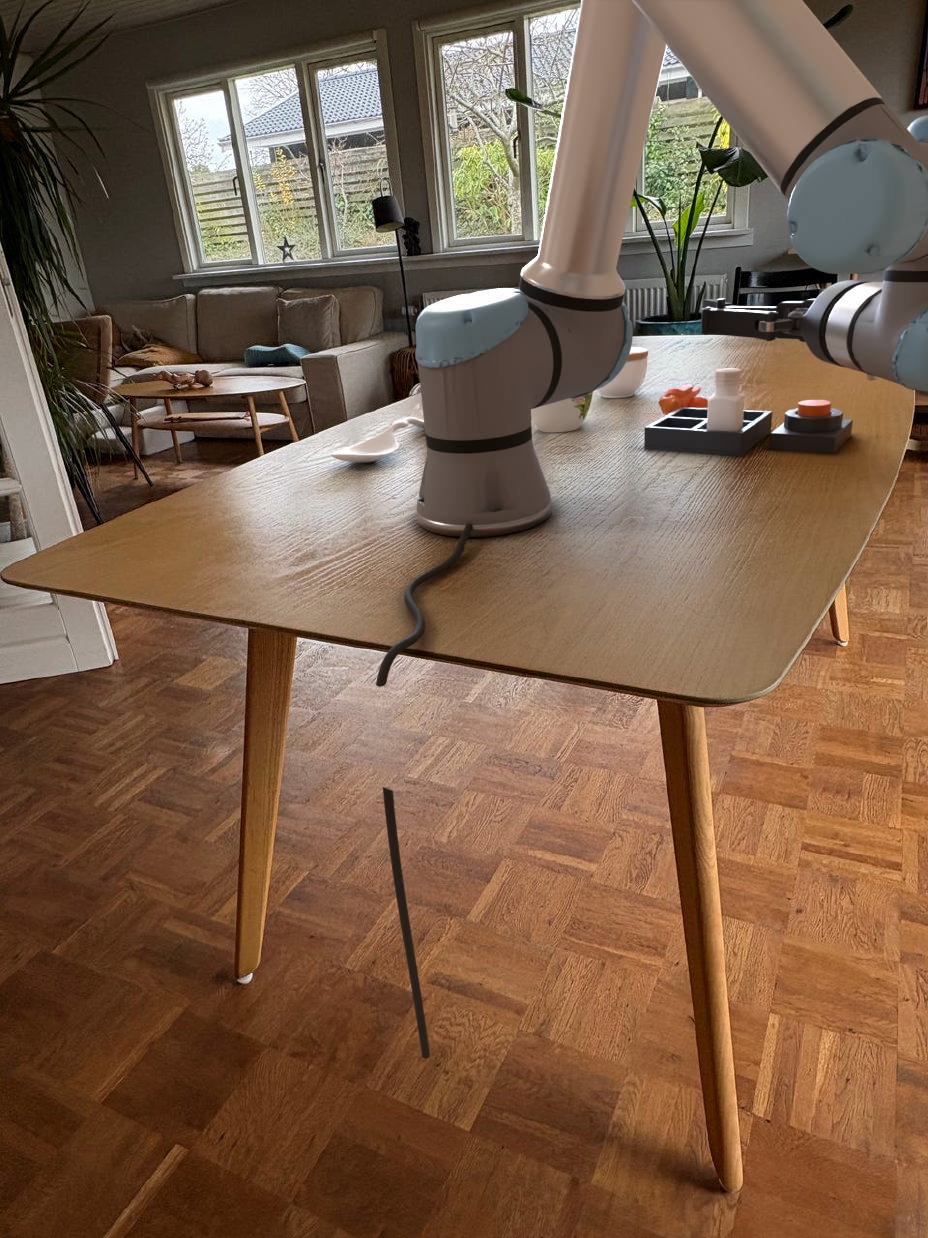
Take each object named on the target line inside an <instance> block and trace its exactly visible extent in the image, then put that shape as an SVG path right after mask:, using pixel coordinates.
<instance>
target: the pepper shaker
mask: <svg viewBox="0 0 928 1238" xmlns="http://www.w3.org/2000/svg"><path fill="white" fill-rule="evenodd" d="M741 372H742V370H741V368H738V367H737V368H736V367H730V368H729V367H727V368H726V367H725V368H718V369H716V370H715V372H714V373H715V375H714V377H715V378H714V393H713V394H712V395H710V396H709V398H707V400H708V413H707V430H718V431H734V432H738V431H740V430H741V429H742V428H743V415H744V410H745V398H746V397H745V395H744V394H742V393H740V385H741Z"/></svg>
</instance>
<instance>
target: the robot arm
mask: <svg viewBox="0 0 928 1238" xmlns="http://www.w3.org/2000/svg"><path fill="white" fill-rule="evenodd" d="M580 1H581V2H580V7H579V13H578V17H577V24H576V29H575V36H574V43H573V48H572V53H571V58H570V66H569V72H568V77H567V84H566V89H565V95H564V101H563V107H562V112H561V118H560V124H559V131H558V136H557V142H556V147H555V152H554V153H555V154H554V160H553V165H552V171H551V177H550V182H549V189H548V193H547V200H546V207H545V214H544V218H543V223H542V224H543V225H542V230H541V236H540V242H539V248H538V254H537V256H536V257H535V258H533V259H532V260H531V261H529V262H528V263H527V264H526V265H525V266H524V267H522V269H521V271H520V279H519V284H518V289H517V288H507V287H506V288H505V287H503V288H502V287H501V288H493V289H492V288H490V289H483V290H478V291H475V292H471V293H463V294H457V295H455V296H451V297H448V298H445V299H442V300H438V301H436V302H434V303H432V304H430V305H428V306H426V307H425V308H424V309H423V310H422V311H421V312H419V315H418V316H417V319H416V321H415V322H416V323H415V343H416V348H415V355H414V356H415V360H416V363H417V370H418V379H419V387H420V394H421V406H422V408H423V416H424V426H425V428H424V434H425V435H424V436H425V444H426V445H425V446H426V457H425V463H424V467H423V470H422V471H423V472H422V475H421V480H420V486H419V492H418V495H417V499H416V516H417V523H418V525H419V526H420V527H421V528H423V529H425V530H426V531H429V532H432V533H434V534H437V535H442V536H449V537H457V538H458V537H459V539H458V541H457V545H456V547H455V550H454V552H453V553H452V555H451V556H450V557H448V558H447V559H446V560H444V561H443V562H441V563H440V564H438V565H436V566H434V567H432V568H430V569H428V570H427V571H424V572H423V573H421V574H419V575H418V576H416V577H415V578H414V579H413V580H412V581H411V582H409V584H408V585H407V587H406V588H405V590H404V595H403V596H404V597H403V599H404V603H405V605H406V608H407V609H408V610H409V613H411V615H412V616H413V618H414V621H415V628H414V630H413V632H412V633H411V634H409V635H408V636H406V637H405V638H403V639H401V640H399V641H397V642H396V643H395V644H394V645H392V647H390V649H389V650H388V651H387V652H386V654H385V655H384V657H383V659H382V661H381V663H380V667H379V669H378V673H377V675H376V681H375V685H376V687H379V688H380V687H381V688H382V687H384V686H386V685H387V683H388V677H389V674H390V672H391V671H390V670H391V668H392V665H393V663H394V661H395V659H396V658H397V656H399V655H400V654H401V653H402V652H404V650H406V649H408V648H410V647H411V646H413V645H414V644H416V643H418V641H420V640H421V638H422V637H423V636H424V633H425V629H426V619H425V617H424V614H423V612H422V611H421V609H420V608H419V607H418V606H417V604H416V603H415V600H414V596H413V595H414V592H415V591H416V589H417V588H418V587H419V586H421V585H422V584H424V583H426V582H427V581H428V580H430V579H432V578H434V577H436V576H438V575H440V574H441V573H443V572H445V571H446V570H448V569H450V568H451V567H452V566H453V565H454V564H455V563H456V562H458V560H459V559H460V558H461V556H462V554H463V552H464V550H465V546H466V543H467V541H468V539H469V538H482V537H484V538H485V537H495V536H501V535H508V534H512V533H517V532H521V531H524V530H528V529H530V528H533V527H536V526H537V525H540V524H541V523H543V522H544V521H546V520H547V519H548V518H549V517H550V516H551V514H552V512H553V511H552V508H553V507H552V498H551V491H550V487H549V485H548V484H547V481H546V478H545V475H544V472H543V469H542V466H541V464H540V461H539V458H538V456H537V452H536V450H535V448H534V443H533V428H532V423H533V421H532V419H531V409H534V408H537V407H541V406H544V405H548V404H551V403H554V402H558V401H561V400H565V399H568V398H571V399H573V398H578V397H582V396H585V395H588V394H589V393H591V392H593V393H594V392H595V391H597V389H599V388H602V387H603V386H605V385H607V384H608V383H609V382H611V381H612V380H613V379H614V378H615V377H616V376H617V375H618V374H619V373H620V371H621V370H622V368H623V367H624V365H625V363H626V361H627V359H628V356H629V353H630V350H631V347H633V346H632V345H633V337H634V336H633V335H634V330H633V328H634V327H633V321H632V320H630V318H629V316H628V315H629V313H630V311H629V309H628V307H627V305H626V303H625V302H624V299H625V298H624V297H625V295H626V284H625V283H624V281H623V279H622V278H621V276H620V275H619V273H618V270H617V265H618V261H619V257H620V252H621V248H622V244H623V239H624V235H625V231H626V226H627V222H628V218H629V212H630V209H631V205H632V200H633V196H634V191H635V187H636V182H637V178H638V175H639V169H640V165H641V160H642V156H643V153H644V148H645V144H646V140H647V135H648V131H649V127H650V121H651V117H652V113H653V109H654V105H655V100H656V95H657V91H658V87H659V83H660V79H661V74H662V69H663V66H664V61H665V57H666V53H667V48H668V50H670V52H671V53H672V54H673V56H674V57H675V58H676V59H677V61H678V62H679V63H680V64H681V66H682V68H684V70H685V71H686V72H687V73H688V75H689V76H690V77H691V79H692V80H693V81H694V82H695V84H696V85H697V86H698V87H699V89H700V90H701V91H702V94H704V95H705V96H706V98H707V99H708V100H709V101H710V103H711V105H712V106H713V107H714V108H715V110H716V111H717V112H718V113H719V115H720V116H721V118H722V119H723V120H724V121H725V123H726V124H727V125H728V126H729V127H730V129H731V130H732V132H733V133H734V134H735V135H736V136H737V138H738V140H740V142H741V143H742V145H744V147H745V148H746V150H747V151H748V152H749V153H750V155H751V157H753V158H754V160H755V161H756V162H757V164H758V165H759V166H760V167H761V169H762V170H763V171H764V172H765V174H766V175H767V177H768V178H769V179H770V180H771V182H772V183H773V184H774V185H775V186H776V188H777V189H778V191H779V192H780V193H781V194H782V196H783V197H784V198H785V200H786V201H787V202H788V207H787V215H786V219H787V228H788V233H789V241H790V243H791V245H792V247H793V250H794V251H795V253H796V254H797V256H799V258H800V259H801V260H802V261H803V262H805V264H807V265H808V266H810V267H811V268H813V269H815V270H817V271H819V272H823V273H826V274H832V275H833V274H834V275H852V274H853V275H867V274H873V273H876V272H879V271H883V277H882V280H883V281H869V280H868V281H867V280H857V279H848V280H847V279H846V280H842V281H838V282H836V283H834V284H832V285H830V286H828V287H827V288H819V289H818V296H817V297H816V298H810V299H805V300H799V301H798V300H786V301H782V302H779V303H777V305H775V306H773V305H772V306H768V305H765V306H764V305H733V303H732V302H727V301H726V300H727V299H726V297H725V298H717V299H712V298H703V300H702V308H701V322H700V334H701V335H705V336H706V335H716V336H729V337H740V338H751V339H757V340H763V341H766V342H772V341H775V340H776V339H784V340H786V339H787V340H798V341H800V342H801V343H805V344H806V346H807V349H809V351H810V353H811V354H812V355H813V356H814V357H815V358H816V359H818V360H820V361H822V362H824V363H828V364H830V365H834V366H837V367H840V368H844V369H845V368H846V369H848V370H849V369H850V370H852V371H857V372H860V373H863V374H866V379H867V380H868V381H871V382H872V381H877V380H879V378H880V379H883V380H885V381H887V382H888V381H889V382H891V383H894V384H897V385H900V386H902V387H904V388H905V389H908V390H911V391H916V392H918V391H921V392H927V393H928V114H927V115H923V116H919V117H918V118H916V119H914V120H913V121H912V122H911V123H909V125H908V127H906V126H905V125H904V123H903V122H902V121H901V120H900V118H898V116H897V115H896V114H895V112H894V111H893V110H891V108H890V107H889V106H888V105H887V104H886V103H885V102H884V100H883V97H882V95H881V94H880V93H879V92H878V91H877V89H875V87H874V86H873V84H871V82H870V81H869V80H868V78H867V77H866V76H865V75H864V74H863V72H862V71H861V70H860V69H859V68H858V67H857V65H856V64H855V62H854V61H853V60H852V59H851V58H850V57H849V55H848V54H847V53H846V52H845V50H844V49H843V48H842V47H841V46H840V44H839V43H838V42H837V41H836V40H835V39H834V37H833V35H831V33H830V32H829V31H828V30H827V29H826V27H825V26H824V25H823V24H822V22H821V21H820V20H819V19H818V17H817V16H816V15H815V14H814V13H813V12H812V10H811V9H810V7H808V5H807V4H806V3H805V1H804V0H580ZM790 309H794V310H792V311H791V312H790ZM382 795H383V804H384V814H385V822H386V832H387V839H388V848H389V858H390V864H391V871H392V877H393V884H394V890H395V897H396V904H397V910H398V917H399V922H400V929H401V935H402V941H403V945H404V953H405V959H406V963H407V964H406V965H407V970H408V975H409V981H410V987H411V988H410V989H411V994H412V1000H413V1005H414V1006H413V1007H414V1013H415V1018H416V1024H417V1032H418V1040H419V1045H420V1052H421V1057H422V1059H424V1060H428V1059H429V1058H430V1056H431V1051H430V1044H429V1037H428V1030H427V1023H426V1016H425V1009H424V1003H423V997H422V989H421V983H420V979H419V973H418V966H417V960H416V959H417V958H416V953H415V947H414V941H413V935H412V934H413V933H412V929H411V923H410V915H409V910H408V903H407V897H406V896H407V895H406V889H405V882H404V876H403V868H402V867H403V866H402V860H401V853H400V845H399V837H398V827H397V826H398V825H397V818H396V810H395V809H396V807H395V799H394V790H391V789H390V788H387V787H384V786H382Z"/></svg>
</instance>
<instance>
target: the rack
mask: <svg viewBox="0 0 928 1238" xmlns="http://www.w3.org/2000/svg"><path fill="white" fill-rule="evenodd" d="M707 413H708V408H688V407H681V408H679V409H677V410H675V411H673V412H671V413H670V414H668V415H664V416H663V417H660V418H659V419H657V420H655V421H653V422H652V423H649V424H648V425H646V426H644V433H643V434H644V439H643V441H644V442H643V450H646V451H659V452H660V451H661V452H674V453H685V454H698V455H710V456H711V455H713V456H722V457H723V456H725V457H736V458H738V457H739V458H741V457H742V456H744V455H745V454H746V453H748V451H750V450H751V449H752V448H754V447H755V446H756V445H758V444H759V443H760V442H761V441H762V440H764V439H766V437H768V436H769V435H771V433H772V423H773V410H751V409H744V415H743V428H742V429H741V430H740V431H738V432H734V431H718V430H707Z"/></svg>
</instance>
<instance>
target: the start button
mask: <svg viewBox="0 0 928 1238" xmlns="http://www.w3.org/2000/svg"><path fill="white" fill-rule="evenodd" d="M797 408H798V413H797V415H801V416H810V417H817V416H827V415H830V410H831V408H832V401H830V400H826V399H805V400H801V401H799V402H798V405H797Z"/></svg>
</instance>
